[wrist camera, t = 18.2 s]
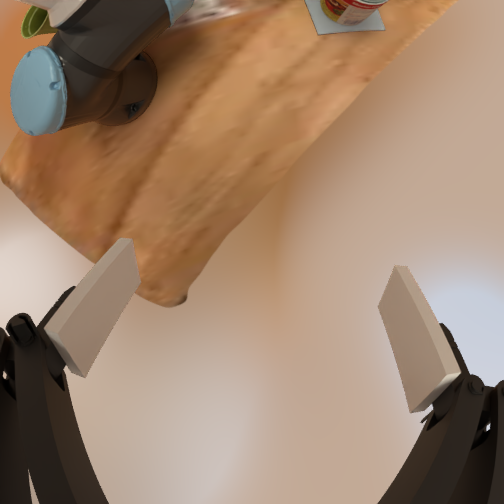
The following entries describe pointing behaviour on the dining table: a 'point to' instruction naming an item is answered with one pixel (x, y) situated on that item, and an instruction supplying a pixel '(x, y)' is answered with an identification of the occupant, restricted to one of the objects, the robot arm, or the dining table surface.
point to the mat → (329, 26)
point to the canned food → (350, 10)
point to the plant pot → (36, 23)
